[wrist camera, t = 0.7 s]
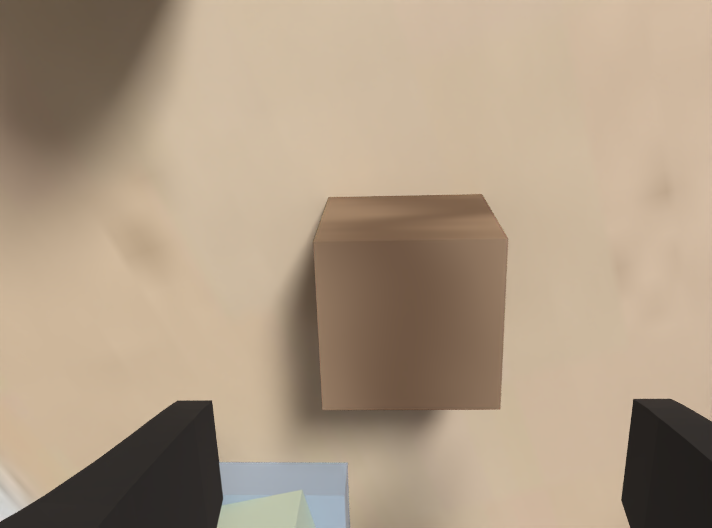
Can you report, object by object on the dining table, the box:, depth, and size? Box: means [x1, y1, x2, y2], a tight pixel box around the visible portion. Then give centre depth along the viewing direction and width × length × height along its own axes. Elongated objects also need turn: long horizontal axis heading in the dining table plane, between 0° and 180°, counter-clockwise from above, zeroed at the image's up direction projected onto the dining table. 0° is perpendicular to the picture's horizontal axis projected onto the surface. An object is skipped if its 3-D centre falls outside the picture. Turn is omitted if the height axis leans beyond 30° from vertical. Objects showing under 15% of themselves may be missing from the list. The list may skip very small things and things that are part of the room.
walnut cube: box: [313, 194, 508, 410], centre depth 18 cm, size 4×4×4 cm
